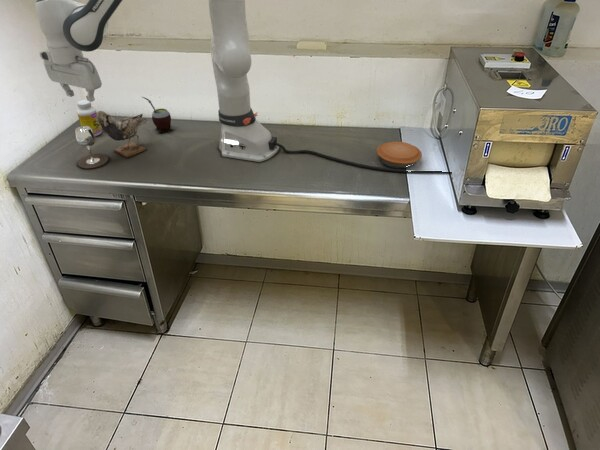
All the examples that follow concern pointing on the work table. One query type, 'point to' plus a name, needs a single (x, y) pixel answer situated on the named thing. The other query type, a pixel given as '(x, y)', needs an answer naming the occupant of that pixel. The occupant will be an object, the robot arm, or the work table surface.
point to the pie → (398, 154)
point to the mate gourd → (161, 118)
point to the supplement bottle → (88, 116)
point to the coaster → (102, 162)
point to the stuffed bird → (122, 131)
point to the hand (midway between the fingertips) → (81, 98)
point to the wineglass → (86, 141)
